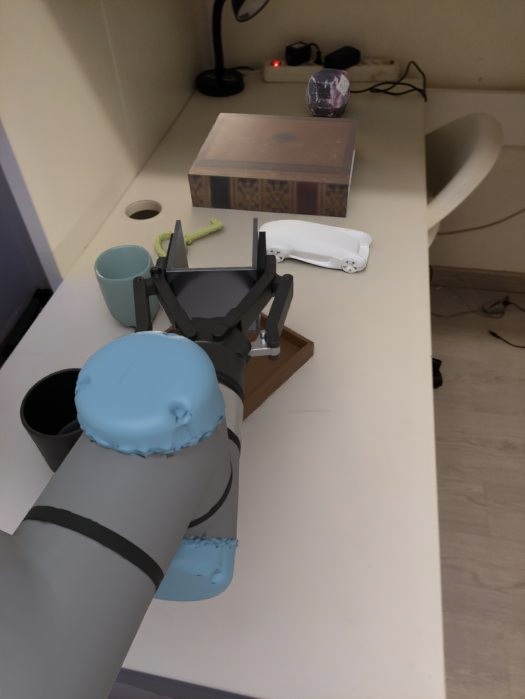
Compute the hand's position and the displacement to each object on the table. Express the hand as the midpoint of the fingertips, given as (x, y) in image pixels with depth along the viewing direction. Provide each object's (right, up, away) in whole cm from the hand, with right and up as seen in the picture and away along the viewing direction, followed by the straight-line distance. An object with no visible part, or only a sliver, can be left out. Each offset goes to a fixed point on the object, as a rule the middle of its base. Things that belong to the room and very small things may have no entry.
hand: (219, 242), depth 61 cm
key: (-8, +6, +30) cm, 32 cm away
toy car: (+13, +4, +27) cm, 31 cm away
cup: (-13, -7, +19) cm, 24 cm away
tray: (+1, -13, +13) cm, 18 cm away
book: (+8, +21, +44) cm, 50 cm away
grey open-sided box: (0, -7, +2) cm, 7 cm away
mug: (-16, -25, +3) cm, 29 cm away
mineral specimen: (+20, +42, +62) cm, 77 cm away
